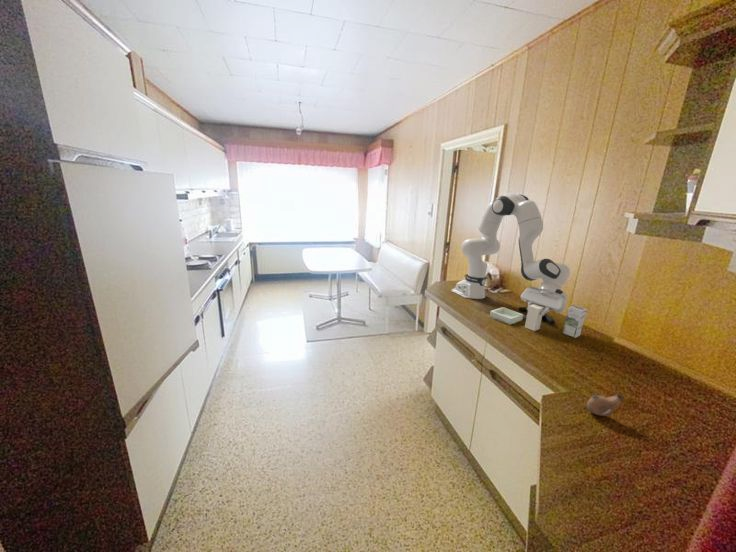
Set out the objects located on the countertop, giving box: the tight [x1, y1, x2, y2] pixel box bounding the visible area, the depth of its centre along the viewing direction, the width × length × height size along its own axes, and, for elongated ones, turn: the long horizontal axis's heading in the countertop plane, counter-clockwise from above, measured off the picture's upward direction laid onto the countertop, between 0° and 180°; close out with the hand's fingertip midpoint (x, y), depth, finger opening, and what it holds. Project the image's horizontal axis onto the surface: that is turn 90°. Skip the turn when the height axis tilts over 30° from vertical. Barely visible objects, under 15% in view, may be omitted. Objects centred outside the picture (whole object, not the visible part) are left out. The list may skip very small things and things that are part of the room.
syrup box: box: [562, 304, 587, 339], centre depth 139 cm, size 6×6×14 cm
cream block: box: [524, 304, 545, 332], centre depth 145 cm, size 5×5×12 cm
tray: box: [489, 306, 524, 326], centre depth 157 cm, size 12×12×4 cm
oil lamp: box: [586, 393, 624, 417], centre depth 88 cm, size 9×4×8 cm, turn 81°
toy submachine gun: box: [518, 306, 556, 326], centre depth 161 cm, size 3×20×16 cm
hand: (534, 312), depth 144 cm, fingers closed on cream block, 5 cm apart
